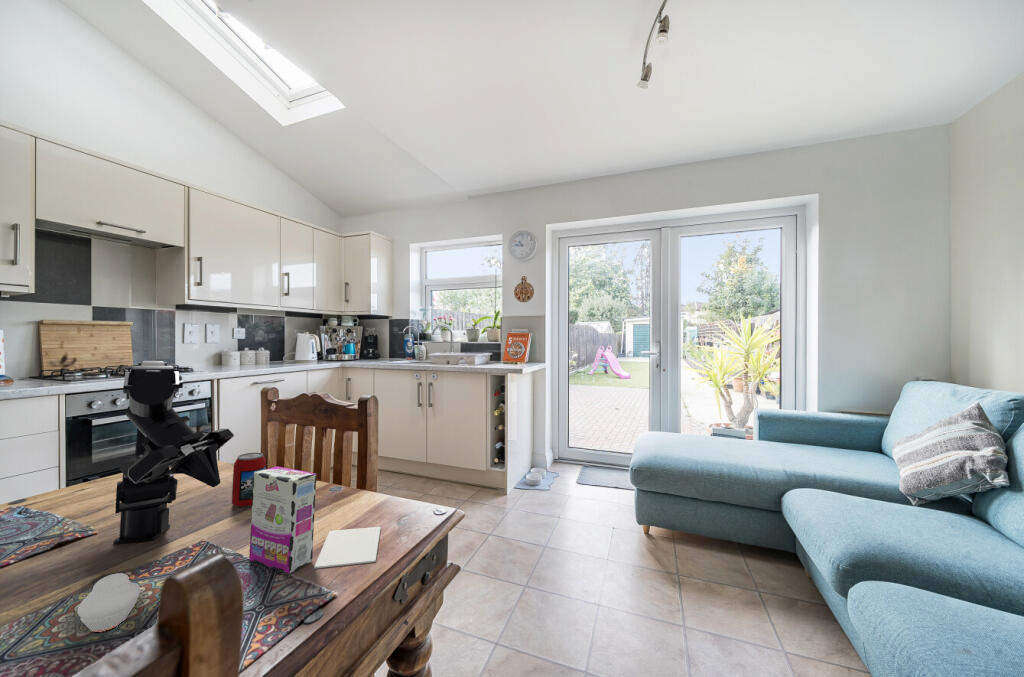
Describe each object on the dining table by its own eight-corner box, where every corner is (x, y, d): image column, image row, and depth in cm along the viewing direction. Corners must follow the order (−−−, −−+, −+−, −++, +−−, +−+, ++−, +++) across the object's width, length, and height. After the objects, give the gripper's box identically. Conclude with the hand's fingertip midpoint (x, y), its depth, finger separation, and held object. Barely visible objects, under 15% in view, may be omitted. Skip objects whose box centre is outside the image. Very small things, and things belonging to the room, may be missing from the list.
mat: (314, 568, 69) (314, 566, 69) (329, 532, 83) (329, 530, 83) (375, 562, 72) (375, 560, 72) (380, 527, 85) (380, 526, 85)
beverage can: (247, 510, 92) (250, 460, 92) (224, 507, 93) (226, 457, 94) (270, 499, 99) (272, 453, 99) (248, 497, 100) (250, 450, 100)
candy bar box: (314, 561, 71) (318, 472, 72) (289, 575, 67) (294, 481, 67) (273, 547, 76) (277, 464, 76) (247, 560, 71) (251, 471, 72)
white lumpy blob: (65, 633, 52) (69, 581, 52) (124, 605, 58) (127, 559, 58) (90, 647, 50) (93, 593, 50) (148, 617, 56) (151, 568, 56)
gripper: (167, 441, 81) (217, 495, 81) (72, 468, 62) (137, 539, 63) (209, 405, 82) (259, 460, 82) (128, 422, 63) (192, 492, 63)
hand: (217, 485), depth 73 cm, fingers closed
